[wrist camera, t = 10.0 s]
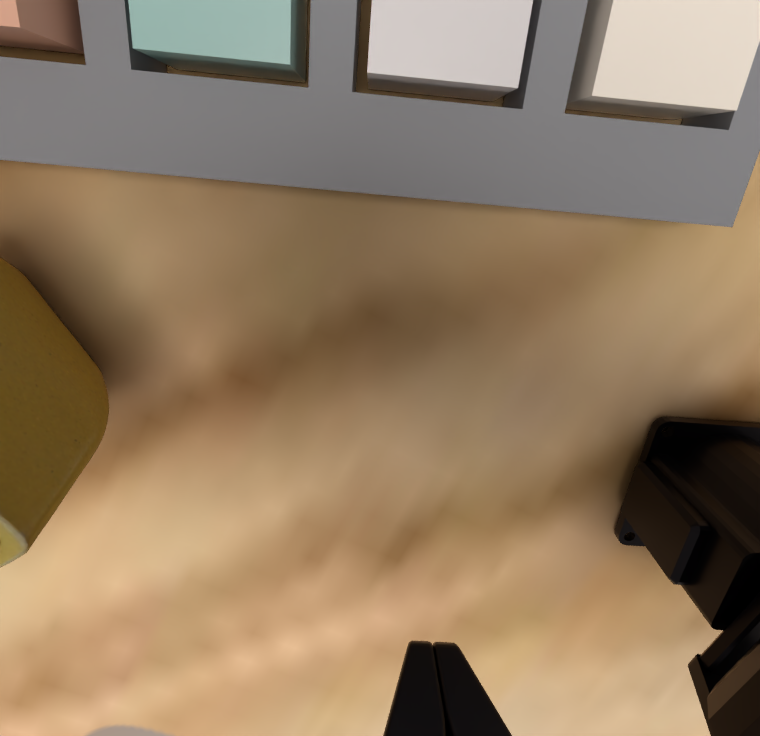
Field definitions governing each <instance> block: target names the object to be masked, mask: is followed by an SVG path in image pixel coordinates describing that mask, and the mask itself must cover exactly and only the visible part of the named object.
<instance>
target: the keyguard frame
mask: <svg viewBox="0 0 760 736" xmlns="http://www.w3.org/2000/svg"><path fill="white" fill-rule="evenodd" d="M587 3H588V0H533V4H532V10H531V16H530V21H529V27H528V33H527V39H526V45H525V50H524V56H523V62H522V68H521V73H520V79H519V85H518V88H517V89H515V90H513V91H511V92H510V93H508V94H506V95H505V97H504V103H503V107H495V106H485V105H476V104H466V103H456V102H446V101H436V100H426V99H416V98H406V97H396V96H386V95H377V94H367V93H357V92H356V83H357V66H358V49H359V32H360V15H361V0H311V10H310V48H309V86H308V88H307V87H297V86H288V85H278V84H268V83H258V82H248V81H238V80H228V79H218V78H208V77H198V76H189V75H179V74H169V73H167V70H166V64H164V63H162V62H160V61H158V60H156V59H154V58H152V57H150V56H148V55H146V54H144V53H142V52H139V51H137V50H135V49H133V45H132V34H131V24H130V13H129V3H128V0H78V7H79V15H80V23H81V31H82V39H83V46H84V54H85V62H86V65H80V64H70V63H60V62H50V61H40V60H30V59H20V58H11V57H1V56H0V160H9V161H20V162H31V163H42V164H53V165H63V166H74V167H85V168H96V169H107V170H118V171H129V172H139V173H150V174H161V175H172V176H183V177H194V178H204V179H215V180H226V181H237V182H248V183H259V184H270V185H280V186H291V187H302V188H313V189H324V190H335V191H346V192H356V193H367V194H378V195H389V196H400V197H411V198H421V199H432V200H443V201H454V202H465V203H476V204H487V205H497V206H508V207H519V208H530V209H541V210H552V211H563V212H573V213H584V214H595V215H606V216H617V217H628V218H638V219H649V220H660V221H671V222H682V223H693V224H704V225H714V226H725V227H733V224H734V221H735V218H736V215H737V213H738V210H739V207H740V204H741V201H742V199H743V196H744V193H745V190H746V187H747V185H748V182H749V179H750V176H751V173H752V171H753V168H754V165H755V162H756V159H757V157H758V154H759V151H760V42H759V45H758V48H757V51H756V54H755V57H754V60H753V63H752V66H751V69H750V72H749V75H748V78H747V81H746V84H745V87H744V90H743V93H742V96H741V99H740V102H739V105H738V108H737V111H731V112H724V113H717V114H710V115H704V116H697V117H690V118H683V120H682V124H681V125H673V124H663V123H654V122H644V121H634V120H624V119H614V118H604V117H594V116H584V115H574V114H565V108H566V104H567V99H568V94H569V89H570V84H571V80H572V75H573V70H574V65H575V61H576V56H577V51H578V46H579V41H580V37H581V32H582V27H583V22H584V18H585V13H586V8H587Z"/></svg>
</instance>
